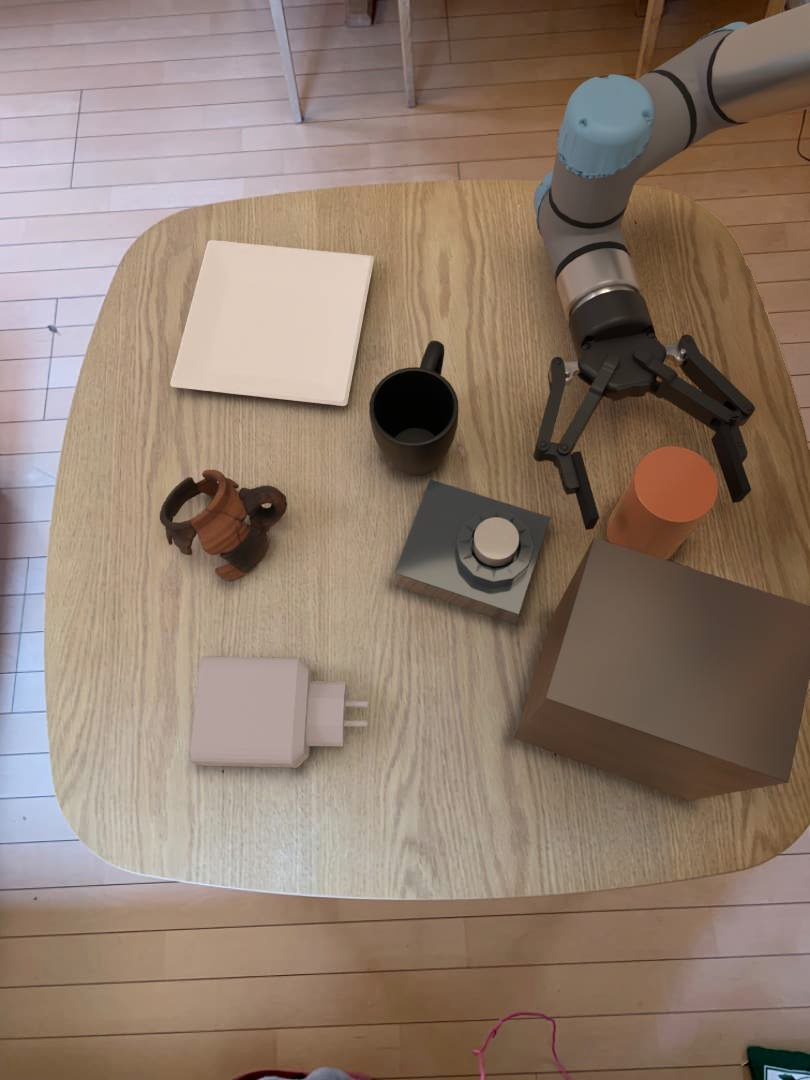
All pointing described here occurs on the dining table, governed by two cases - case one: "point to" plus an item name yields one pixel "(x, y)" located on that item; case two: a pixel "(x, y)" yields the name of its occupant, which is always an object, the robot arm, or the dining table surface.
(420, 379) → the mug
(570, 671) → the stand
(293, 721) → the charger
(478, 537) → the round white push button
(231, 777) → the dining table surface
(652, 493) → the orange cylinder
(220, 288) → the plate
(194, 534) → the pottery mug
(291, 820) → the dining table surface
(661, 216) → the dining table surface
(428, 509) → the gray button box
